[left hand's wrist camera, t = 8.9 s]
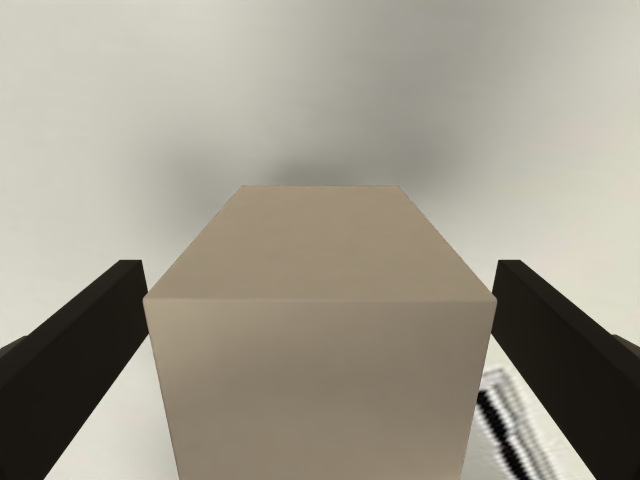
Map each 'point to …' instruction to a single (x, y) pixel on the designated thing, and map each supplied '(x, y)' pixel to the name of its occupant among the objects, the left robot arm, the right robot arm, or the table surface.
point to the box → (319, 340)
